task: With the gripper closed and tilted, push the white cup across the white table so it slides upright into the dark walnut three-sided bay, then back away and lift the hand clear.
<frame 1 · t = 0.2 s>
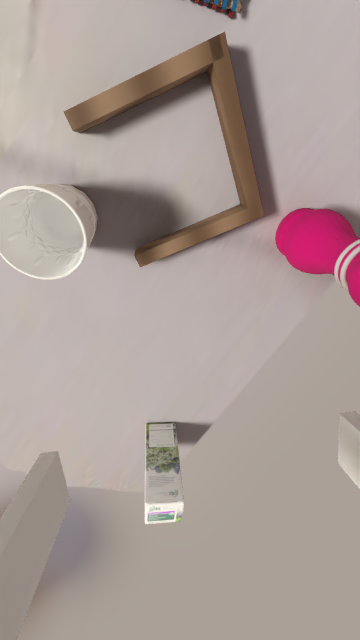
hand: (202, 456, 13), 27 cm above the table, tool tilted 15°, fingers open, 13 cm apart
syrup box: (160, 430, 53), on the table
white cup: (68, 215, 32), on the table
walnut bay: (170, 169, 31), on the table
pepper mill: (297, 233, 36), on the table
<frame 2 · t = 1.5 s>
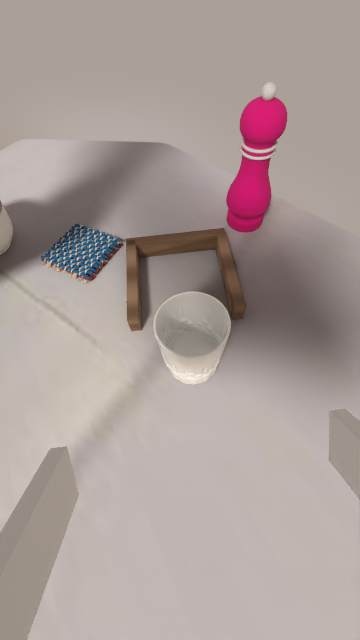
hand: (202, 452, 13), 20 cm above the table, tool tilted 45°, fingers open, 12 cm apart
woven mat: (84, 256, 48), on the table
white cup: (192, 360, 37), on the table
walnut bay: (181, 283, 43), on the table
pepper mill: (243, 221, 50), on the table
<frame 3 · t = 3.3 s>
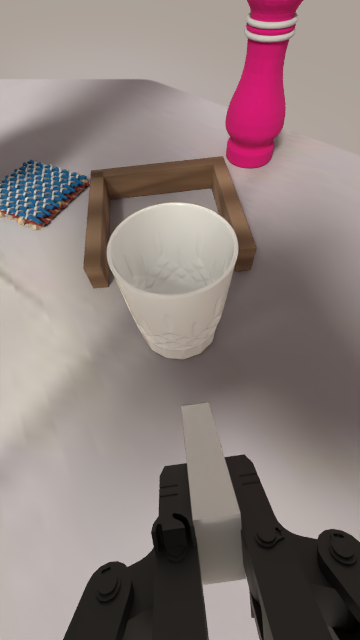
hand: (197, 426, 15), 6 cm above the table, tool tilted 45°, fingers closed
woven mat: (39, 201, 36), on the table
white cup: (179, 326, 25), on the table
walnut bay: (165, 228, 32), on the table
pepper mill: (248, 157, 39), on the table
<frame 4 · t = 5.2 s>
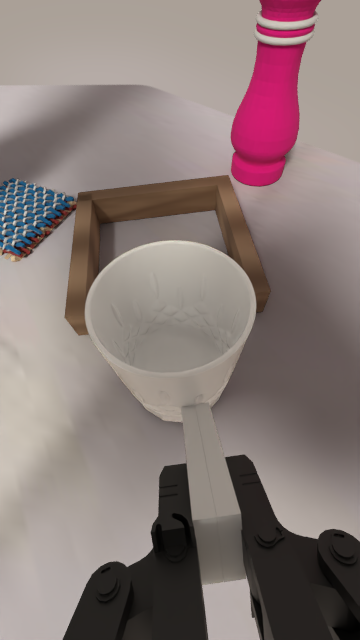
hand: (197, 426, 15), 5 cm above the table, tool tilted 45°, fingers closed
woven mat: (21, 225, 32), on the table
white cup: (179, 378, 21), on the table, touching gripper
walnut bay: (163, 259, 28), on the table
pepper mill: (255, 173, 35), on the table
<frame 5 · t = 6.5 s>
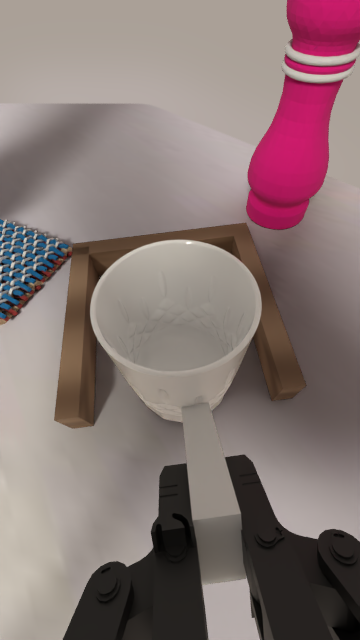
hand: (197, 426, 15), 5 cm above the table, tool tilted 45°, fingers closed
woven mat: (9, 274, 29), on the table
white cup: (182, 378, 21), on the table, touching gripper
walnut bay: (172, 324, 24), on the table
pepper mill: (274, 212, 31), on the table
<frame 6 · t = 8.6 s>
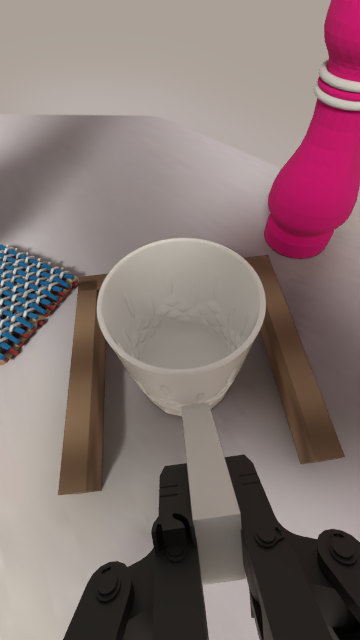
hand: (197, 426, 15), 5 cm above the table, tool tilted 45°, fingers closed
woven mat: (10, 305, 27), on the table
white cup: (186, 373, 22), on the table, touching gripper
walnut bay: (187, 368, 22), on the table
pepper mill: (294, 238, 29), on the table
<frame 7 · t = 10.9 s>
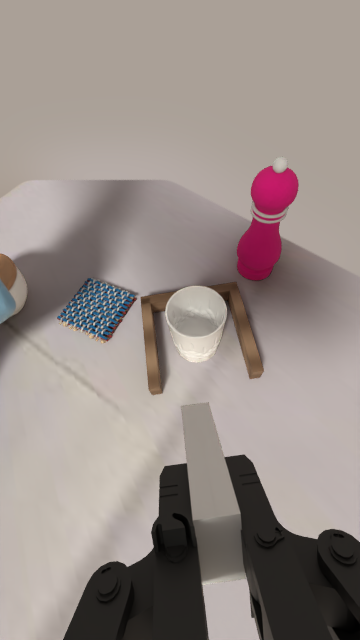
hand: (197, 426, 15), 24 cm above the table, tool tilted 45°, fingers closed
woven mat: (99, 312, 49), on the table
lidded jar: (9, 304, 50), on the table
white cup: (196, 343, 44), on the table
walnut bay: (197, 340, 44), on the table
pepper mill: (254, 268, 51), on the table
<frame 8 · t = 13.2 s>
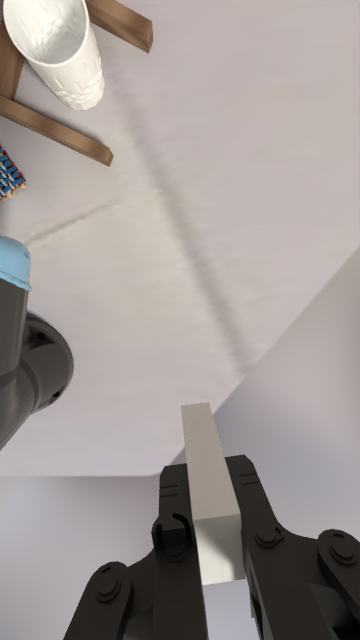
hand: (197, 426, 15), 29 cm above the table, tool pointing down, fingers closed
white cup: (79, 82, 36), on the table
walnut bay: (75, 78, 36), on the table
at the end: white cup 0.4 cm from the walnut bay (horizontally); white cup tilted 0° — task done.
